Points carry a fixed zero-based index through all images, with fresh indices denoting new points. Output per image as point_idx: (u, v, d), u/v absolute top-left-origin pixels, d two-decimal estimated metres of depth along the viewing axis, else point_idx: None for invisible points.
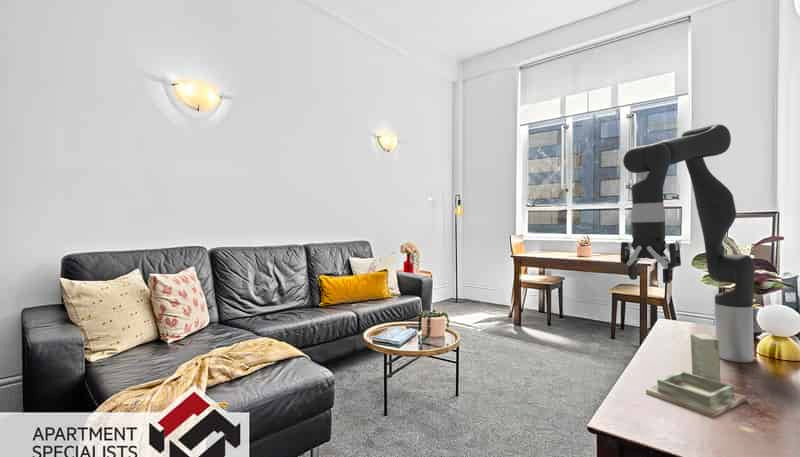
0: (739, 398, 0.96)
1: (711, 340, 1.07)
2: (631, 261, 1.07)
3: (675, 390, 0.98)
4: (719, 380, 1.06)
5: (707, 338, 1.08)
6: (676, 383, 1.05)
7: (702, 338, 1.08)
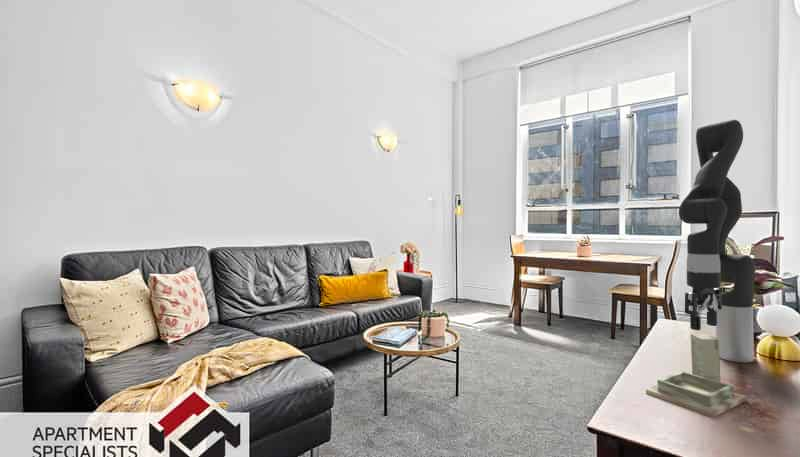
0: (739, 398, 0.96)
1: (711, 340, 1.07)
2: (700, 311, 1.07)
3: (675, 390, 0.98)
4: (719, 380, 1.06)
5: (707, 338, 1.08)
6: (676, 383, 1.05)
7: (702, 338, 1.08)
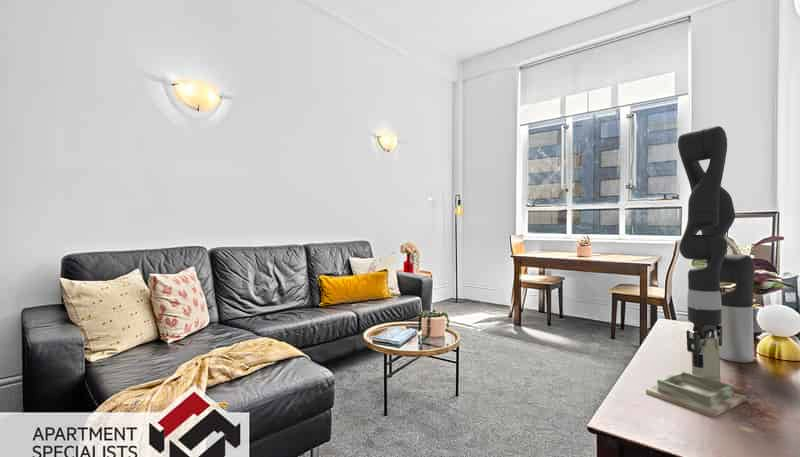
0: (739, 398, 0.96)
1: (711, 340, 1.07)
2: (703, 349, 1.07)
3: (675, 390, 0.98)
4: (719, 380, 1.06)
5: None
6: (676, 383, 1.05)
7: None
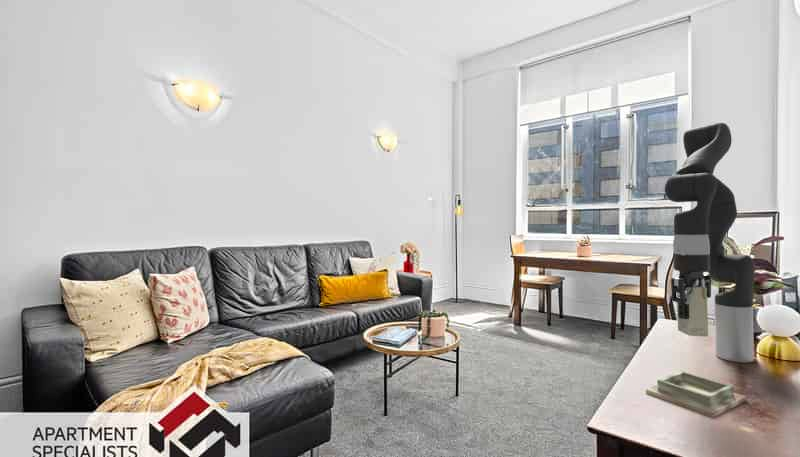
0: (739, 398, 0.96)
1: (698, 288, 0.97)
2: (689, 299, 0.97)
3: (675, 390, 0.98)
4: (706, 332, 0.97)
5: None
6: (676, 383, 1.05)
7: None
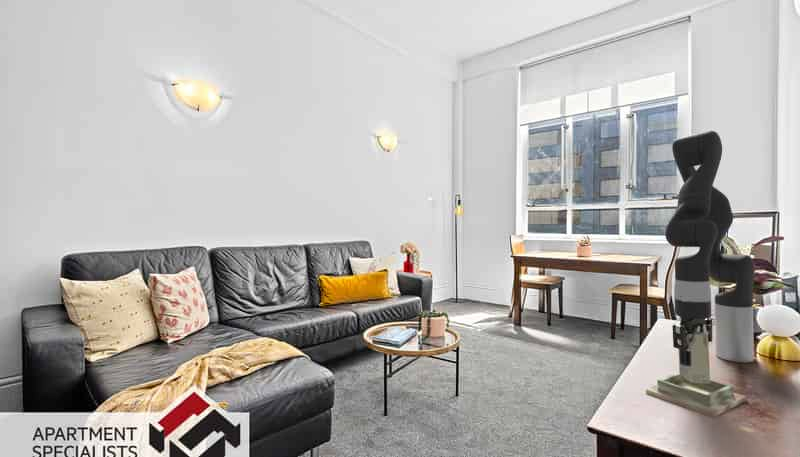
0: (739, 398, 0.96)
1: (699, 335, 0.97)
2: (690, 345, 0.97)
3: (675, 390, 0.98)
4: (708, 379, 0.96)
5: None
6: (676, 383, 1.05)
7: None
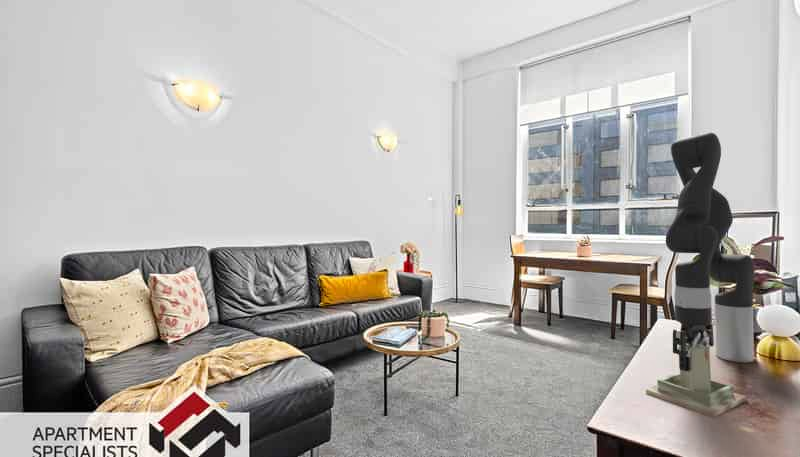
0: (739, 398, 0.96)
1: (701, 349, 0.97)
2: (690, 351, 0.97)
3: (675, 390, 0.98)
4: None
5: (696, 347, 0.98)
6: (676, 383, 1.05)
7: None
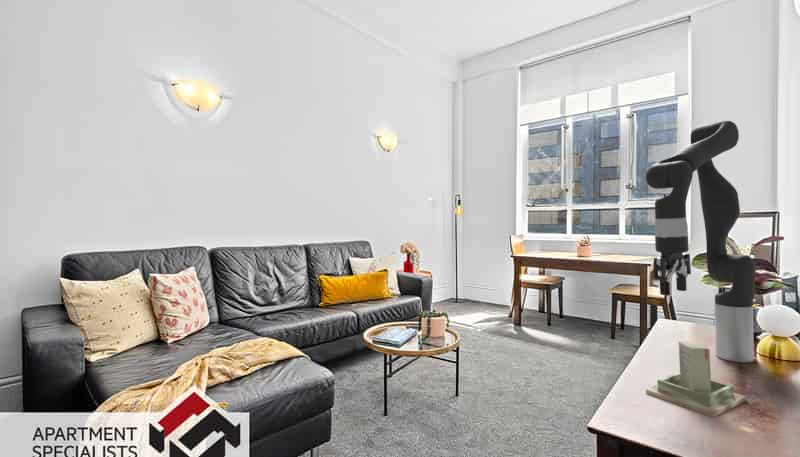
0: (739, 398, 0.96)
1: (701, 349, 0.97)
2: (669, 276, 1.05)
3: (675, 390, 0.98)
4: None
5: (696, 347, 0.98)
6: (676, 383, 1.05)
7: (691, 347, 0.98)
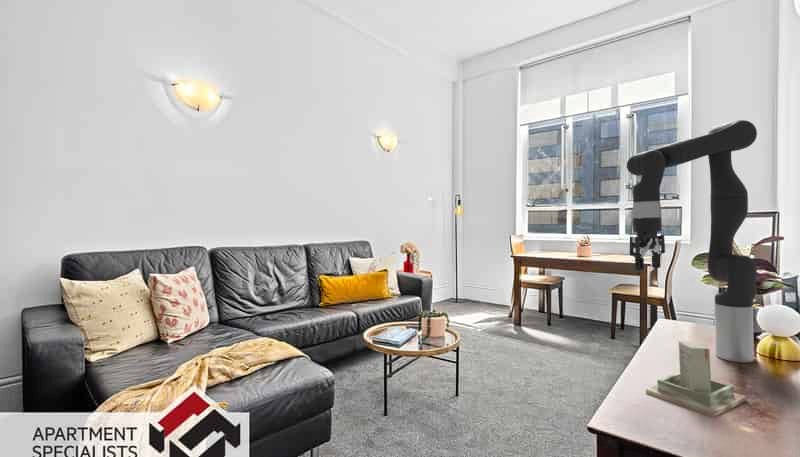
0: (739, 398, 0.96)
1: (701, 349, 0.97)
2: (643, 253, 1.18)
3: (675, 390, 0.98)
4: None
5: (696, 347, 0.98)
6: (676, 383, 1.05)
7: (691, 347, 0.98)
